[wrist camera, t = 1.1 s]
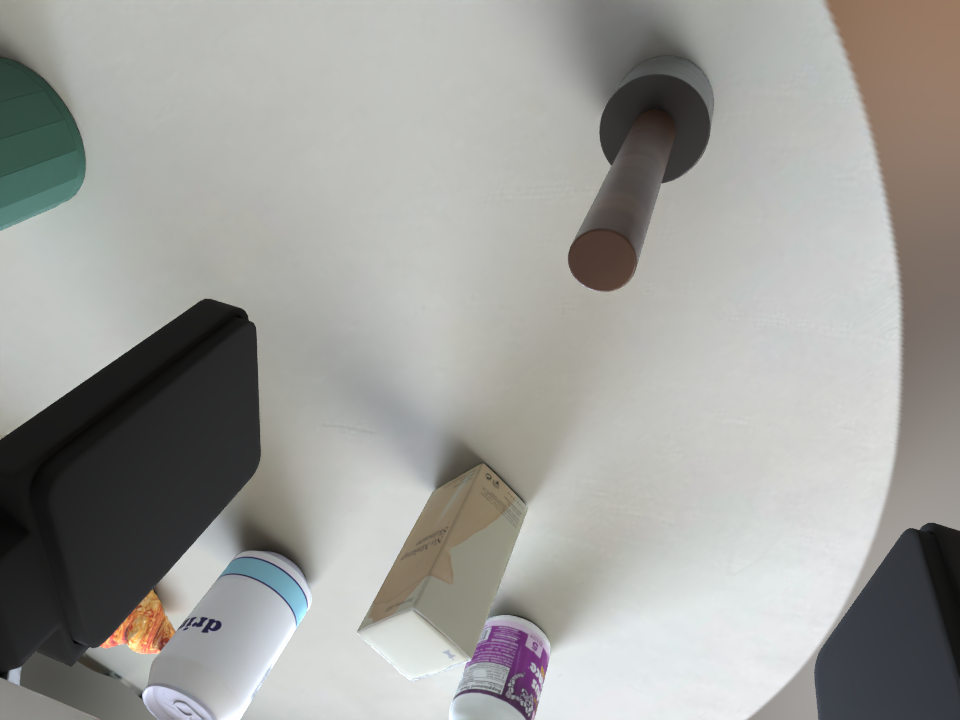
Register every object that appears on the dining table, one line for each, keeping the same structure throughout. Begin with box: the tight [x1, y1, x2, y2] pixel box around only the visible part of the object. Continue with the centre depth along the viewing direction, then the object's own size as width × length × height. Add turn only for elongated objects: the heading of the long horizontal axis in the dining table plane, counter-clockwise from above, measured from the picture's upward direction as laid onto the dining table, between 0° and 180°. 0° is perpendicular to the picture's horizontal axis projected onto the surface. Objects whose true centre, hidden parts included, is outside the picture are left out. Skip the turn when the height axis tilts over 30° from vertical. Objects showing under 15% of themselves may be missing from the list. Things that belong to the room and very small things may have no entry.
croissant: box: [100, 589, 175, 654], centre depth 61 cm, size 21×10×8 cm, turn 58°
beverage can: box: [142, 551, 312, 720], centre depth 50 cm, size 7×7×12 cm
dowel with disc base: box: [568, 56, 714, 292], centre depth 23 cm, size 4×4×16 cm
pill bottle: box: [449, 615, 551, 720], centre depth 46 cm, size 5×5×10 cm
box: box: [357, 463, 528, 681], centre depth 40 cm, size 5×4×11 cm
